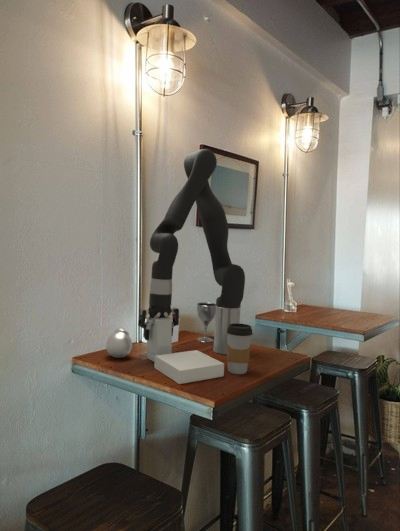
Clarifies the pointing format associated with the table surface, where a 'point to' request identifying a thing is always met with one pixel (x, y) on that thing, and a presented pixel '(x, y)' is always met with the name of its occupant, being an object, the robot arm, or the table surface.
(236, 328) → the coffee cup
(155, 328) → the skincare box
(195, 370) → the block
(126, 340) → the silver egg shape
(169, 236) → the robot arm
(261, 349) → the table surface
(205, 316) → the wine glass
